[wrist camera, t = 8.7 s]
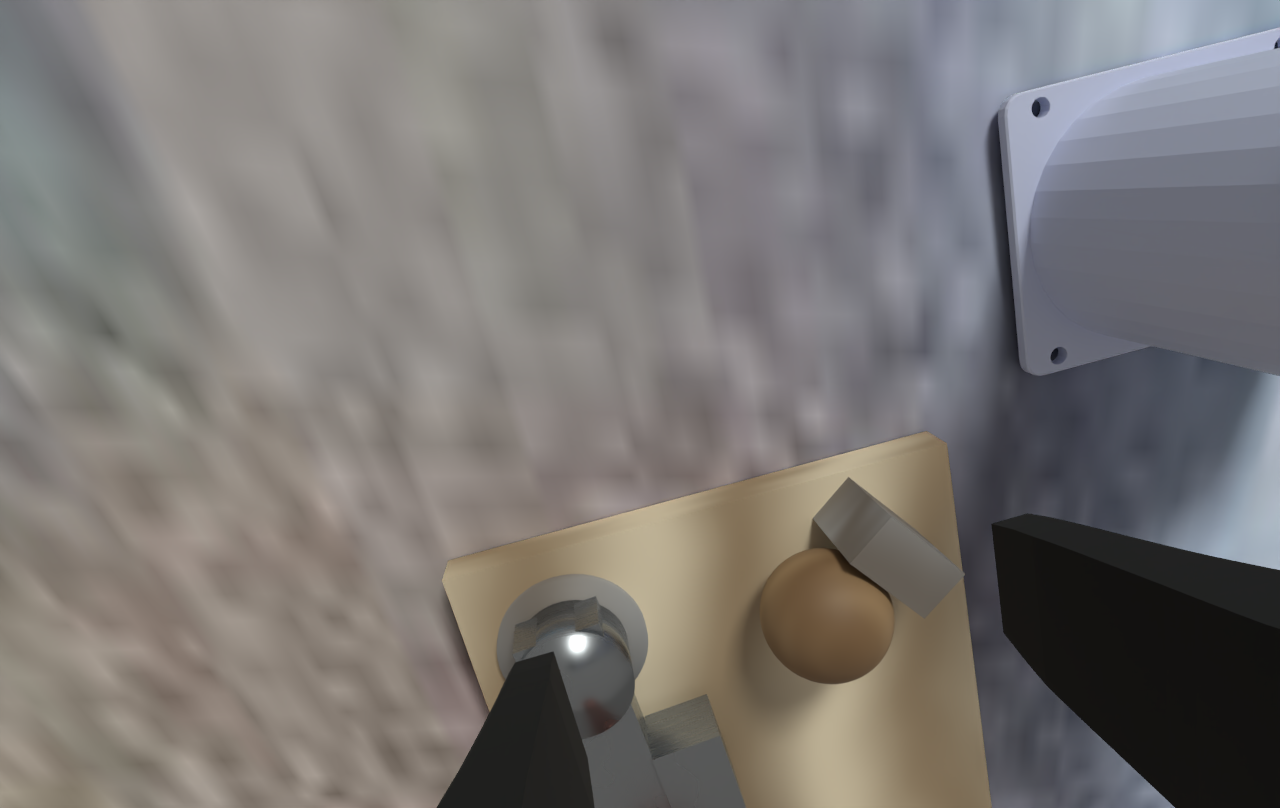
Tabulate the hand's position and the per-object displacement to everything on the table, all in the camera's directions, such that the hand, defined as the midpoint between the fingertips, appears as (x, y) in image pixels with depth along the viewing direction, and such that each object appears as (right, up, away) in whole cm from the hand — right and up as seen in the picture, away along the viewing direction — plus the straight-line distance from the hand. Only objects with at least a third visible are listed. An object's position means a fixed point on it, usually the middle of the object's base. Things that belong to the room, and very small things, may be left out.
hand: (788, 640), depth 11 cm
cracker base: (+1, -6, +13) cm, 14 cm away
